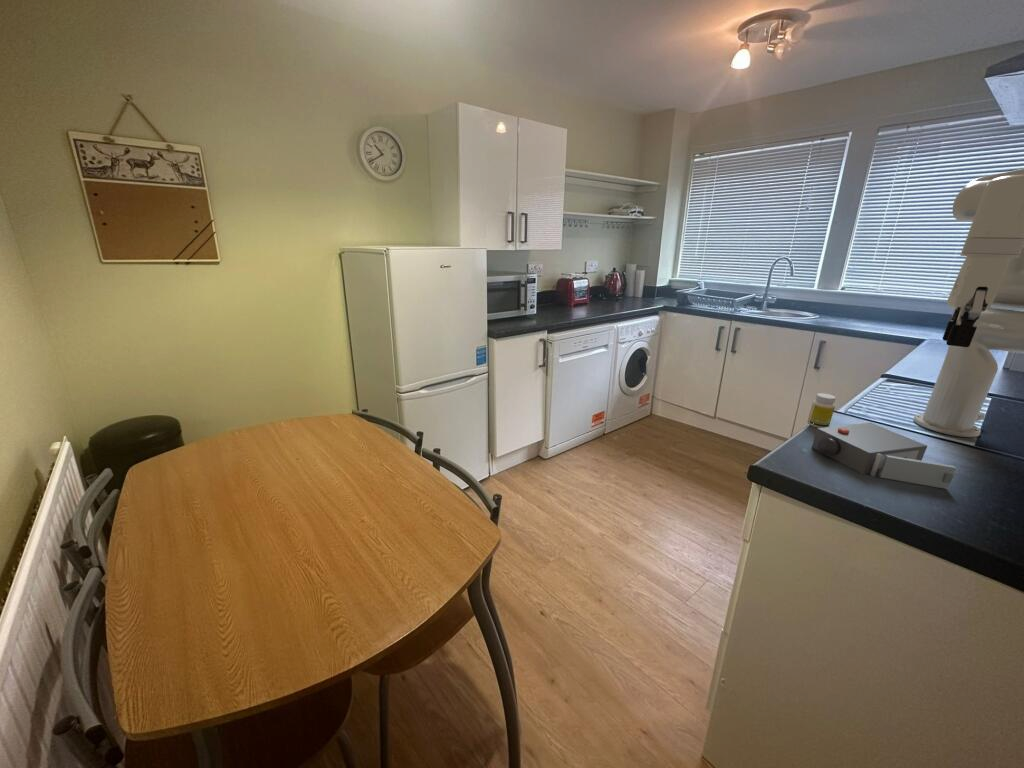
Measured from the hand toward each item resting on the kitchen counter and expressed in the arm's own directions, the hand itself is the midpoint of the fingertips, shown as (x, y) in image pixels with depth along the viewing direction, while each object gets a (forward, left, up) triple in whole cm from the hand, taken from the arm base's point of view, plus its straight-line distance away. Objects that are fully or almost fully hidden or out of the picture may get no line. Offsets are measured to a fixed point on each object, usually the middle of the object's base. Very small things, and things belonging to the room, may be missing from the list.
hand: (955, 342), depth 84 cm
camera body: (+9, -3, -27) cm, 29 cm away
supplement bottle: (+3, -20, -28) cm, 34 cm away
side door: (+9, +7, -27) cm, 30 cm away
